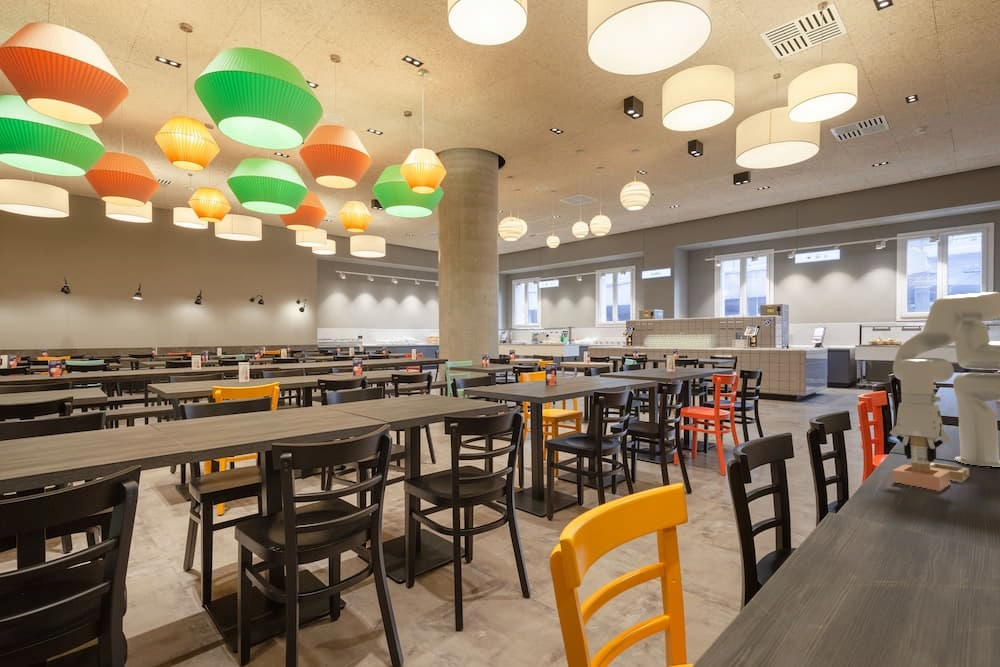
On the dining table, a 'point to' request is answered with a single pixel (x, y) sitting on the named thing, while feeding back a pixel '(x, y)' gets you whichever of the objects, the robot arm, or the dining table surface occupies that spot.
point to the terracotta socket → (922, 478)
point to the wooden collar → (953, 471)
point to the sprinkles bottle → (919, 453)
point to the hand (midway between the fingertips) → (920, 459)
